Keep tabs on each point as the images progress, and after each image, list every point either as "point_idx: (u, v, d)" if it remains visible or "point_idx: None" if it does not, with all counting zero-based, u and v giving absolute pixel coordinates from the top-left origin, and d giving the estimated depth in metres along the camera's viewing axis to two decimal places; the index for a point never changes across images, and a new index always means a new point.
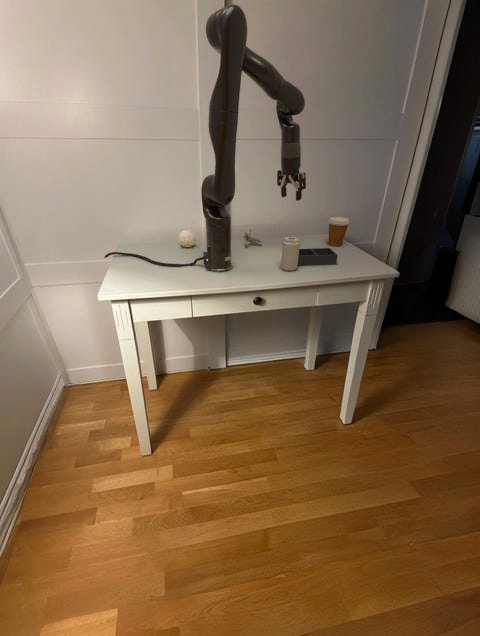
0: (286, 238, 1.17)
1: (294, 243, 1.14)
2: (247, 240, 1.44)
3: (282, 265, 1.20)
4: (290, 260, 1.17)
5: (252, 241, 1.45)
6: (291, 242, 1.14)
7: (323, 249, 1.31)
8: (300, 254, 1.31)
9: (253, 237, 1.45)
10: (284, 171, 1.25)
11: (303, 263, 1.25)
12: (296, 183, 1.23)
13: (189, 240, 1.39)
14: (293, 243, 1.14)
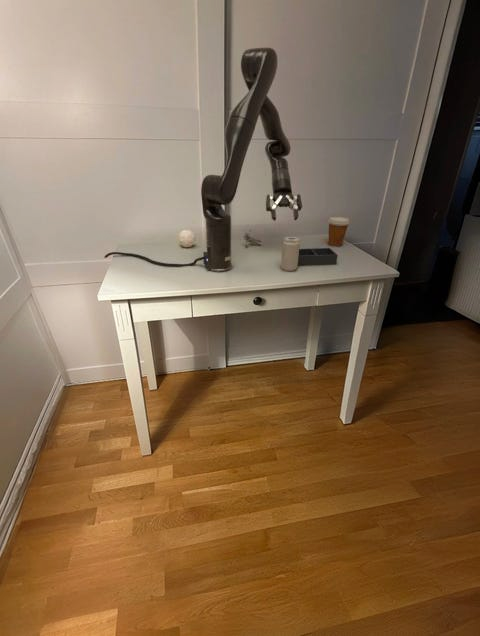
0: (286, 238, 1.17)
1: (294, 243, 1.14)
2: (247, 240, 1.44)
3: (282, 265, 1.20)
4: (290, 260, 1.17)
5: (252, 241, 1.45)
6: (291, 242, 1.14)
7: (323, 249, 1.31)
8: (300, 254, 1.31)
9: (253, 237, 1.45)
10: (277, 194, 1.25)
11: (303, 263, 1.25)
12: None
13: (189, 240, 1.39)
14: (293, 243, 1.14)
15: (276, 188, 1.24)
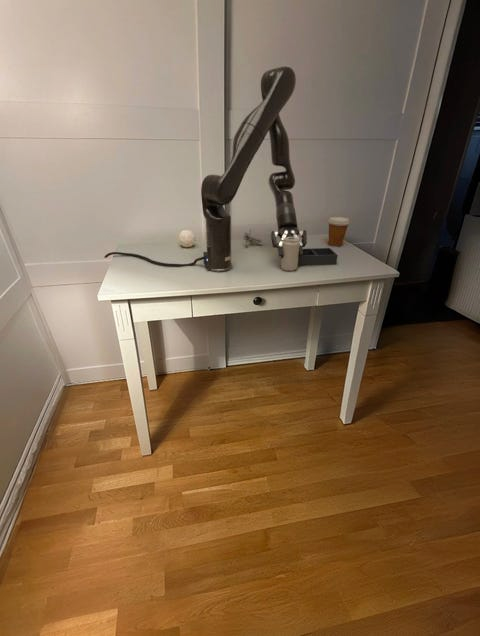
0: (286, 238, 1.17)
1: (294, 243, 1.14)
2: (247, 240, 1.44)
3: (282, 265, 1.20)
4: (290, 260, 1.17)
5: (252, 241, 1.45)
6: (291, 242, 1.14)
7: (323, 249, 1.31)
8: None
9: (253, 237, 1.45)
10: (282, 229, 1.19)
11: (303, 263, 1.25)
12: None
13: (189, 240, 1.39)
14: (293, 243, 1.14)
15: (281, 223, 1.18)
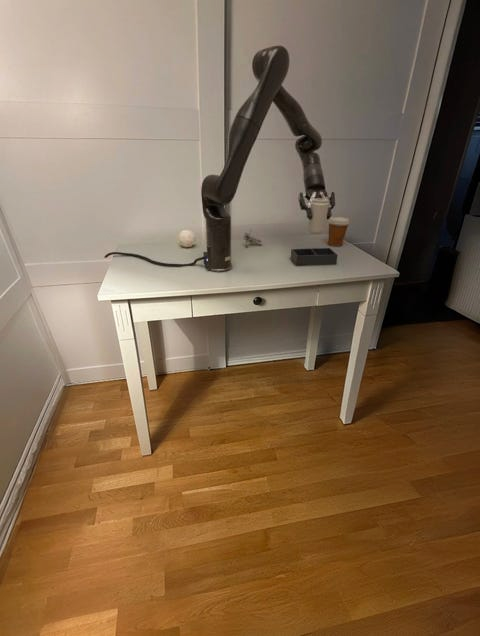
0: (315, 199, 1.15)
1: (323, 203, 1.13)
2: (247, 240, 1.44)
3: (310, 227, 1.19)
4: (319, 222, 1.16)
5: (252, 241, 1.45)
6: (320, 202, 1.13)
7: (323, 249, 1.31)
8: (300, 254, 1.31)
9: (253, 237, 1.45)
10: (310, 191, 1.18)
11: (303, 263, 1.25)
12: None
13: (189, 240, 1.39)
14: (322, 203, 1.13)
15: (309, 184, 1.17)
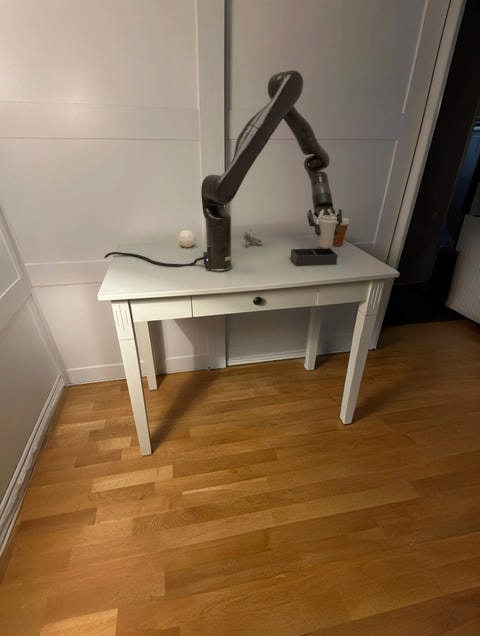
0: (323, 216, 1.21)
1: (331, 221, 1.19)
2: (247, 240, 1.44)
3: (318, 243, 1.25)
4: (327, 238, 1.22)
5: (252, 241, 1.45)
6: (329, 220, 1.19)
7: (323, 249, 1.31)
8: (300, 254, 1.31)
9: (253, 237, 1.45)
10: (318, 208, 1.24)
11: (303, 263, 1.25)
12: None
13: (189, 240, 1.39)
14: (330, 221, 1.19)
15: (318, 202, 1.23)
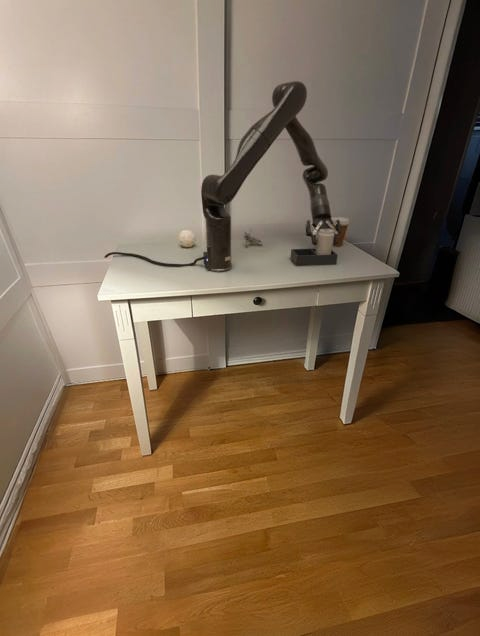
0: (321, 230, 1.24)
1: (329, 234, 1.21)
2: (247, 240, 1.44)
3: None
4: (325, 251, 1.25)
5: (252, 241, 1.45)
6: (326, 233, 1.21)
7: None
8: (300, 254, 1.31)
9: (253, 237, 1.45)
10: (317, 220, 1.26)
11: (303, 263, 1.25)
12: None
13: (189, 240, 1.39)
14: (328, 234, 1.21)
15: (316, 214, 1.25)
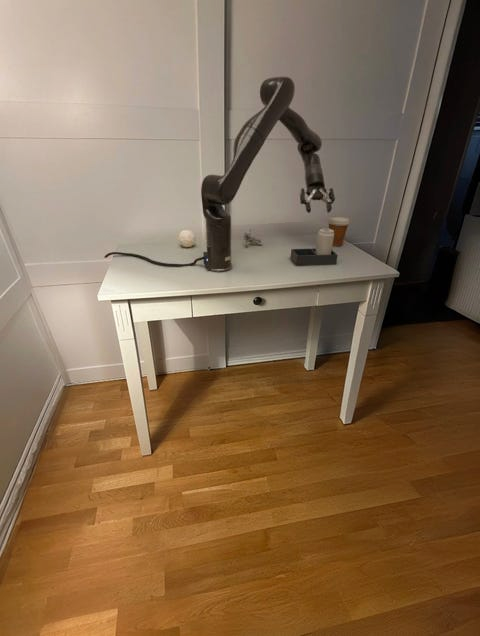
0: (321, 230, 1.24)
1: (329, 234, 1.21)
2: (247, 240, 1.44)
3: None
4: (325, 251, 1.25)
5: (252, 241, 1.45)
6: (326, 233, 1.21)
7: None
8: (300, 254, 1.31)
9: (253, 237, 1.45)
10: (311, 188, 1.31)
11: (303, 263, 1.25)
12: None
13: (189, 240, 1.39)
14: (328, 234, 1.21)
15: (310, 182, 1.30)
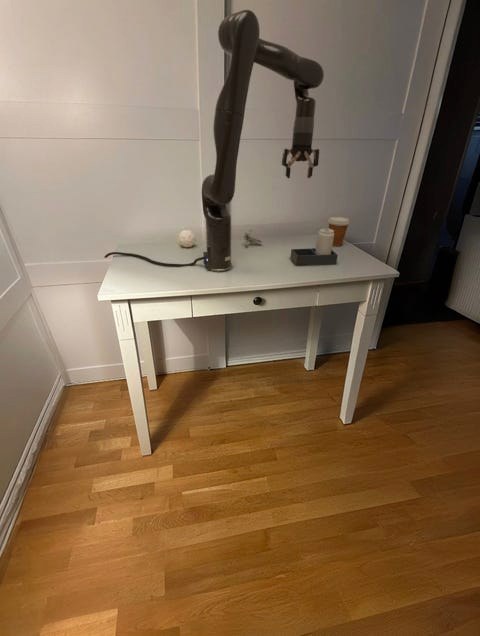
0: (321, 230, 1.24)
1: (329, 234, 1.21)
2: (247, 240, 1.44)
3: None
4: (325, 251, 1.25)
5: (252, 241, 1.45)
6: (326, 233, 1.21)
7: None
8: (300, 254, 1.31)
9: (253, 237, 1.45)
10: (295, 149, 1.20)
11: (303, 263, 1.25)
12: None
13: (189, 240, 1.39)
14: (328, 234, 1.21)
15: (296, 143, 1.17)
